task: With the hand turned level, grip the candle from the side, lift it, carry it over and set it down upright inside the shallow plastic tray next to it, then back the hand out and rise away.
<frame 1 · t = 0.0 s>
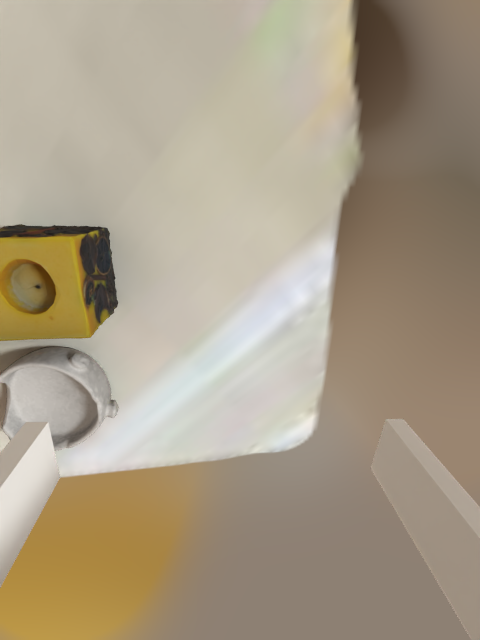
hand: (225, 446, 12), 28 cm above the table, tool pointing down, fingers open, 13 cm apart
candle: (72, 268, 36), on the table
dish: (67, 386, 42), on the table
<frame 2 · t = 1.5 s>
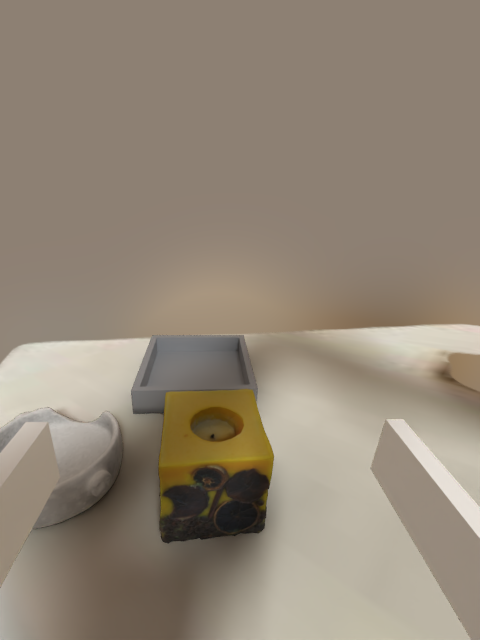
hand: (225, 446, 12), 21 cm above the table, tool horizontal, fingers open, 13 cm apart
candle: (210, 492, 33), on the table
dish: (59, 478, 34), on the table
tray: (197, 377, 53), on the table
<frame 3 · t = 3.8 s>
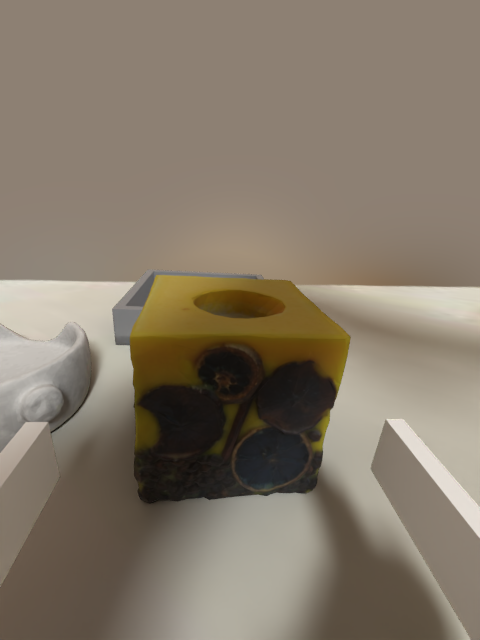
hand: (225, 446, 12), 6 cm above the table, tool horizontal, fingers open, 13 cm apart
candle: (223, 436, 21), on the table
tray: (203, 316, 41), on the table
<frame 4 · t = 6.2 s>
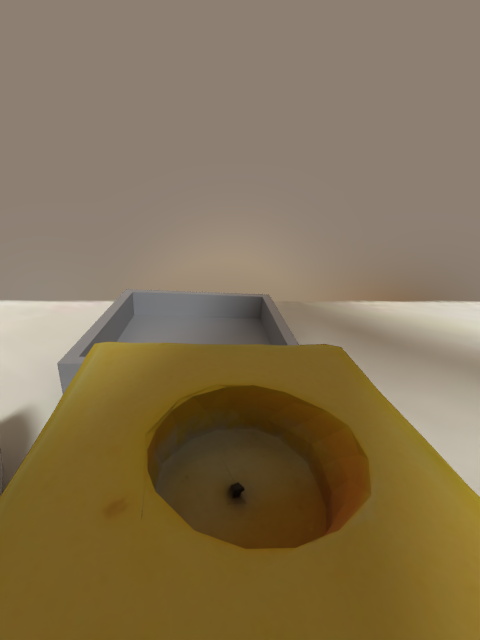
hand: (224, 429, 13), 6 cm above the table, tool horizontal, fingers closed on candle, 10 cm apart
tray: (195, 353, 31), on the table
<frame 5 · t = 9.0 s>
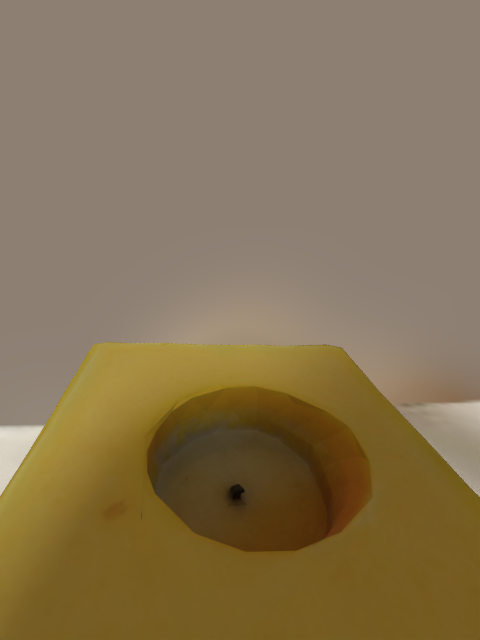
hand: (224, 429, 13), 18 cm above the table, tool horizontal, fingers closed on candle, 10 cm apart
when the fingers open (9 cm above the table, at t = 11.8 s): candle drops 2 cm, resting on tray.
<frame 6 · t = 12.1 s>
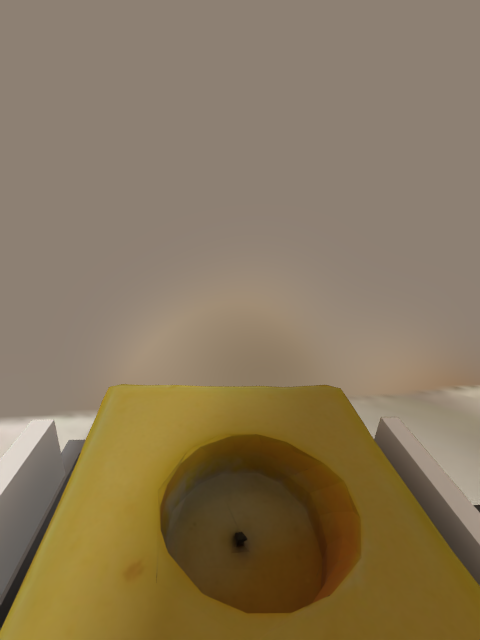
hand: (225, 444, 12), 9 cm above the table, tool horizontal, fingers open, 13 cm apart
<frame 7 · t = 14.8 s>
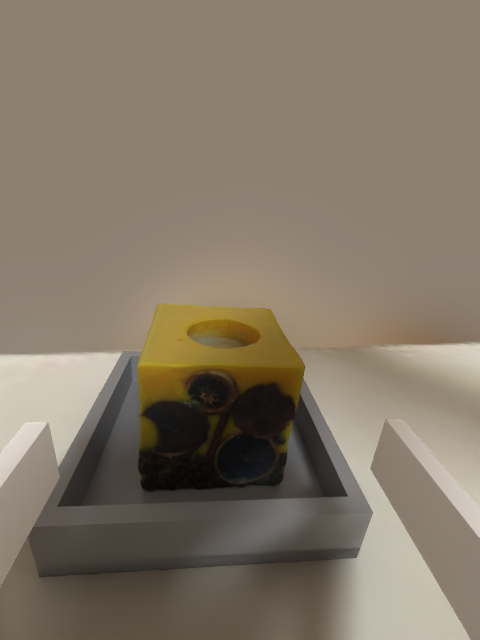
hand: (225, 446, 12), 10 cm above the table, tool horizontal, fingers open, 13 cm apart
candle: (211, 438, 25), point 1 cm above the table, touching tray
tray: (208, 445, 25), on the table
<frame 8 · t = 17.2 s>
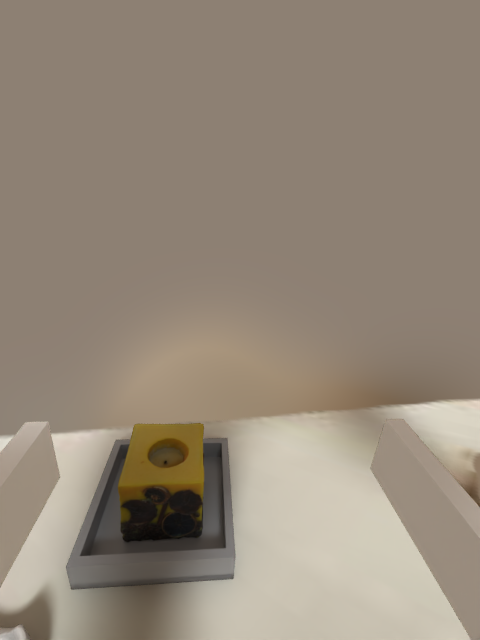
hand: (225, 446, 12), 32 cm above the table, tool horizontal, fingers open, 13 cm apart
candle: (167, 504, 42), point 1 cm above the table, touching tray
tray: (165, 508, 42), on the table
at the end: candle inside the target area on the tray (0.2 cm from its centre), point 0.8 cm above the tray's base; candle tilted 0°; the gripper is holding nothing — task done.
